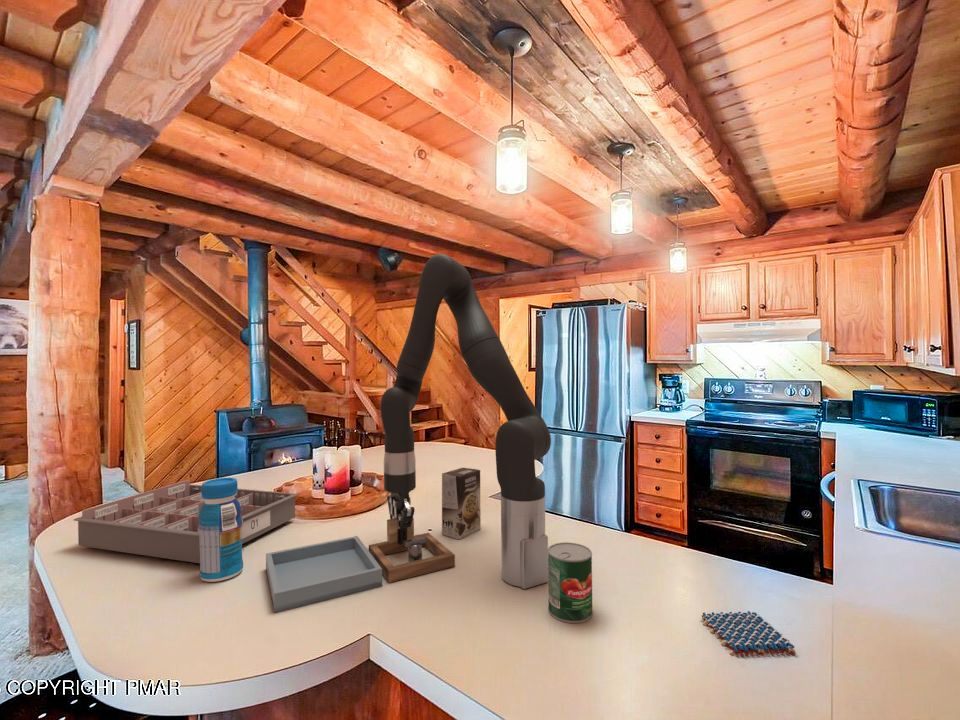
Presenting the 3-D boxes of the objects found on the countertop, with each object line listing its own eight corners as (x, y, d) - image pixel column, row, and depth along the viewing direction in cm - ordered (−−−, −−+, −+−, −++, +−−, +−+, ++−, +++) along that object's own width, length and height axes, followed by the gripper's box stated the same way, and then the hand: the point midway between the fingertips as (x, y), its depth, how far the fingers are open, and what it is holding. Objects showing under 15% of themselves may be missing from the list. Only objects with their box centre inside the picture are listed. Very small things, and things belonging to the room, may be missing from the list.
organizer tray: (203, 572, 101) (202, 526, 101) (72, 552, 112) (72, 511, 112) (299, 521, 132) (298, 486, 132) (189, 509, 143) (188, 477, 143)
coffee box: (460, 540, 117) (459, 476, 117) (441, 534, 121) (440, 472, 121) (481, 529, 124) (481, 469, 124) (463, 524, 128) (462, 466, 128)
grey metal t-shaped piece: (428, 566, 102) (428, 539, 102) (406, 571, 100) (406, 544, 100) (423, 561, 105) (423, 534, 105) (402, 566, 103) (401, 539, 103)
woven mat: (755, 620, 82) (755, 608, 82) (799, 659, 71) (799, 645, 71) (697, 621, 81) (697, 610, 81) (732, 661, 71) (732, 648, 71)
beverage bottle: (193, 586, 94) (190, 488, 94) (206, 568, 103) (204, 478, 103) (238, 580, 97) (236, 484, 97) (248, 563, 105) (245, 474, 105)
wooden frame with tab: (454, 566, 102) (454, 532, 102) (388, 582, 95) (388, 546, 95) (428, 542, 115) (427, 512, 115) (368, 555, 108) (368, 523, 108)
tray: (382, 586, 94) (381, 568, 94) (274, 613, 84) (274, 593, 84) (357, 550, 111) (357, 535, 111) (266, 569, 102) (265, 553, 102)
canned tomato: (561, 595, 90) (561, 538, 90) (600, 609, 85) (599, 549, 85) (539, 613, 83) (539, 552, 83) (579, 629, 78) (579, 564, 78)
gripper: (425, 473, 107) (426, 548, 107) (404, 462, 119) (405, 529, 119) (393, 478, 103) (394, 555, 103) (376, 465, 115) (376, 535, 115)
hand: (400, 541), depth 111 cm, fingers closed on wooden frame with tab
